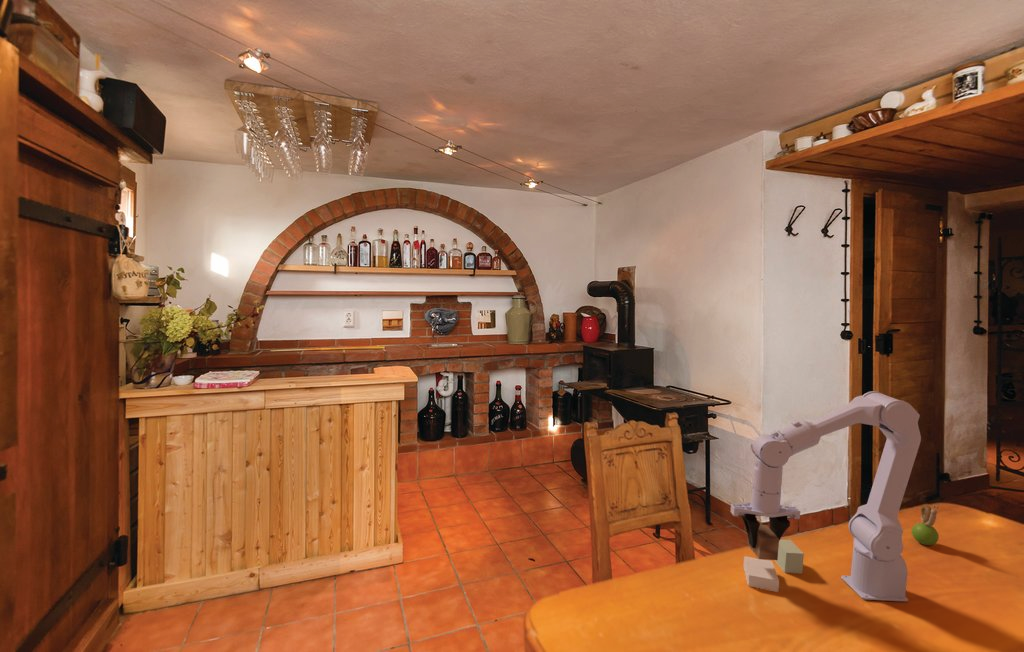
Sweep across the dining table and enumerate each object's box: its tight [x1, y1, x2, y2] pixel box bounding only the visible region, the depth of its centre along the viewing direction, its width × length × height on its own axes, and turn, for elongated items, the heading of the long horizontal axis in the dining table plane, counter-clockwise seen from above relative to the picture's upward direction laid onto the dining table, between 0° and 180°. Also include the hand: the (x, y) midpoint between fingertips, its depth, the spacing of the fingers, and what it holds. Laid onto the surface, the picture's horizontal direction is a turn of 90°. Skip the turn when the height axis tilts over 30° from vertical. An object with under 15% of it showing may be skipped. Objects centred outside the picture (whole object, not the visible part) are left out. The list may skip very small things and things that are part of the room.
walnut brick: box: [747, 524, 779, 561], centre depth 110 cm, size 4×6×5 cm, turn 177°
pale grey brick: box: [743, 556, 780, 593], centre depth 111 cm, size 6×8×3 cm
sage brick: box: [773, 539, 804, 575], centre depth 116 cm, size 4×6×5 cm, turn 177°
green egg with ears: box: [911, 504, 940, 546], centre depth 127 cm, size 5×6×12 cm
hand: (762, 546), depth 110 cm, fingers closed on walnut brick, 4 cm apart
